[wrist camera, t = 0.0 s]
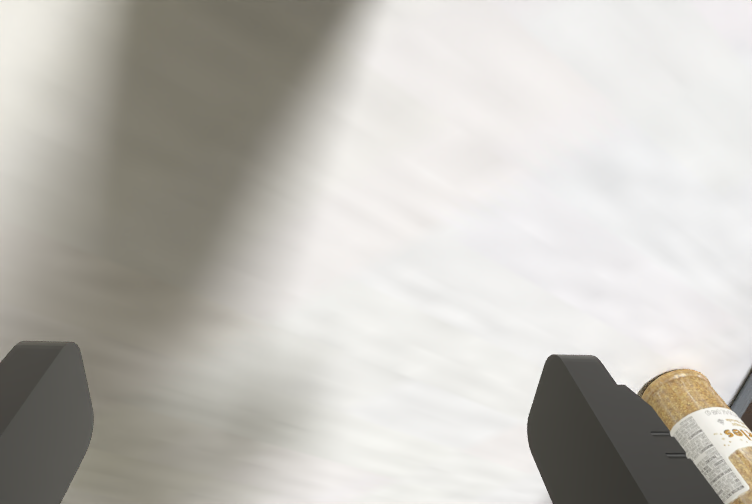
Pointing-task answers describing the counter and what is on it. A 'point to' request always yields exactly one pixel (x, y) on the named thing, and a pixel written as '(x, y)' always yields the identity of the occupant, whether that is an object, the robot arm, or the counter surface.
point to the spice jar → (705, 431)
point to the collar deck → (744, 403)
